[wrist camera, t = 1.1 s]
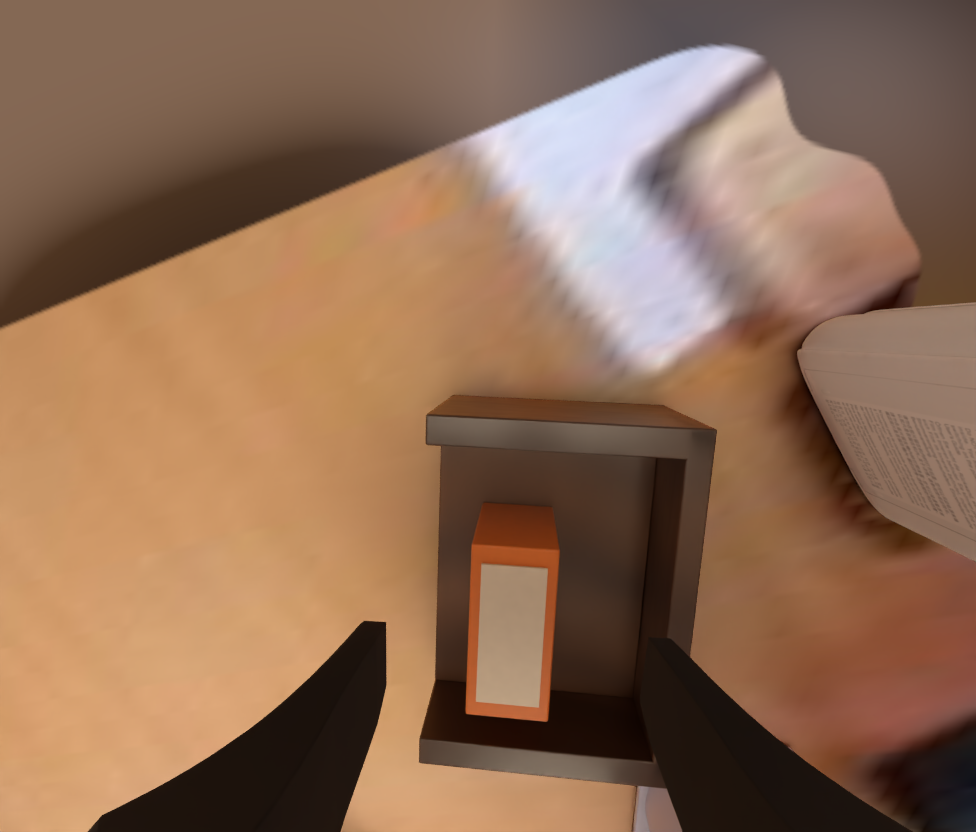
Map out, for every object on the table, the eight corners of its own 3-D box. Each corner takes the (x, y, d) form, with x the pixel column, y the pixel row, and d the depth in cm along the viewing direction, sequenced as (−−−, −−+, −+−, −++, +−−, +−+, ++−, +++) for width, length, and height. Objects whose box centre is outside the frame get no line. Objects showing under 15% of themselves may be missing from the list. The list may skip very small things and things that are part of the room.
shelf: (637, 679, 26) (674, 790, 19) (444, 661, 26) (418, 763, 20) (665, 405, 23) (718, 429, 17) (452, 394, 24) (425, 414, 18)
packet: (543, 646, 23) (548, 725, 18) (476, 641, 23) (464, 717, 18) (552, 506, 21) (560, 551, 17) (482, 501, 22) (471, 544, 17)
